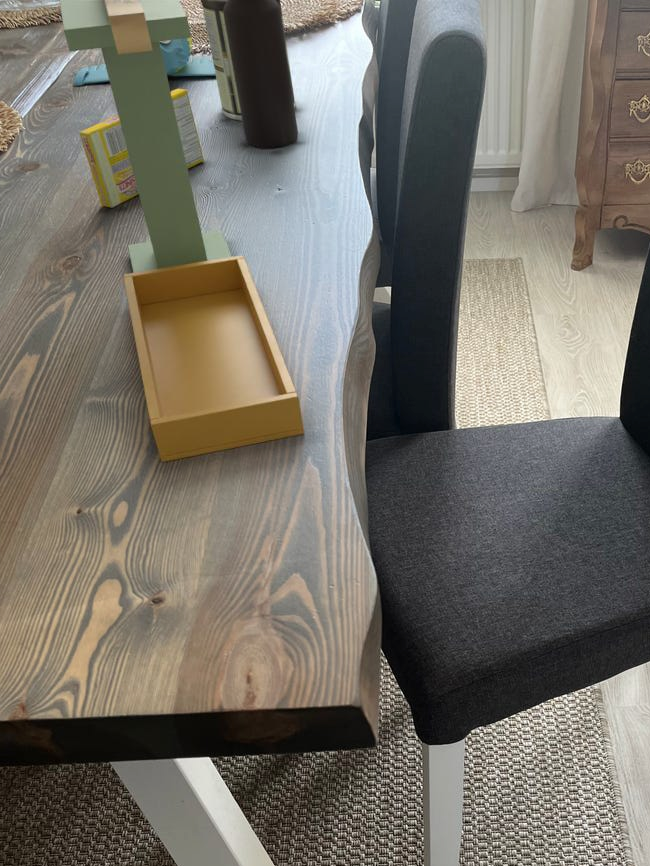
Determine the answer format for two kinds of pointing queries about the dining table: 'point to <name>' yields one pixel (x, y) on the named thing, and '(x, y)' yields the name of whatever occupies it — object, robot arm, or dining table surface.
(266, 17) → the bottle
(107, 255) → the dining table surface
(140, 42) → the birch bar
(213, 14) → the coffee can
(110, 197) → the candy box
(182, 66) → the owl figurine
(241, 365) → the tray
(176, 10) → the stand
